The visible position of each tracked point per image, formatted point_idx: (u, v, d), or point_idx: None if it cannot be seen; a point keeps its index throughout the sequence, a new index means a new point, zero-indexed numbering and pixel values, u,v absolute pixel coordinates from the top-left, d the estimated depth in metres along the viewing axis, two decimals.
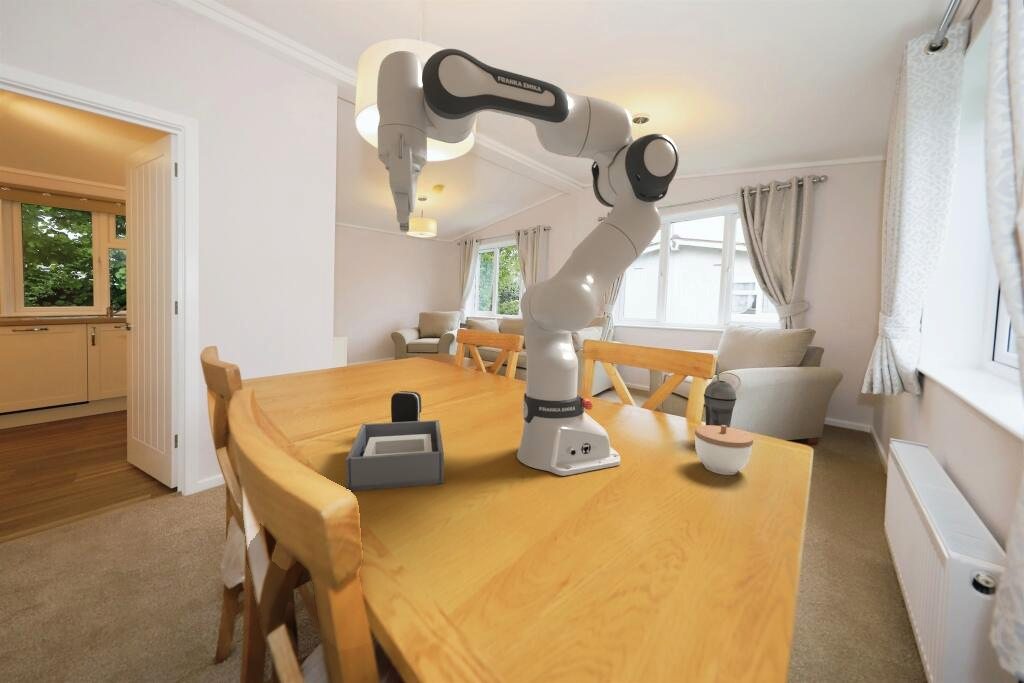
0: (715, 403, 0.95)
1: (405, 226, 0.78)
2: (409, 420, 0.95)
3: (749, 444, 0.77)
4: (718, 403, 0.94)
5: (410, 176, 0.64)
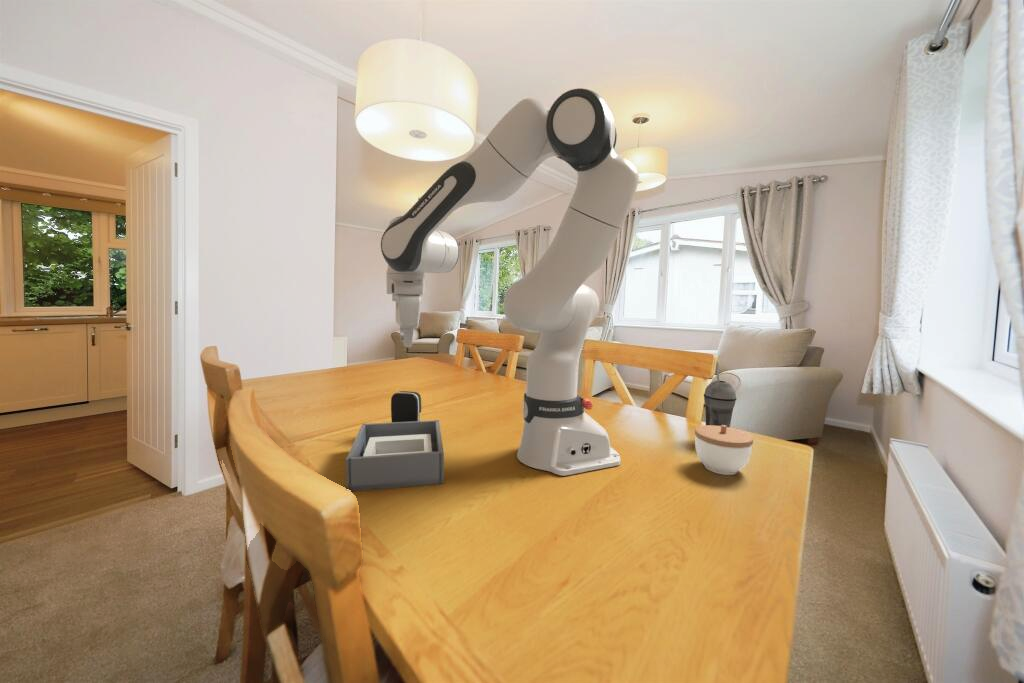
0: (715, 403, 0.95)
1: None
2: (409, 420, 0.95)
3: (749, 444, 0.77)
4: (718, 403, 0.94)
5: None
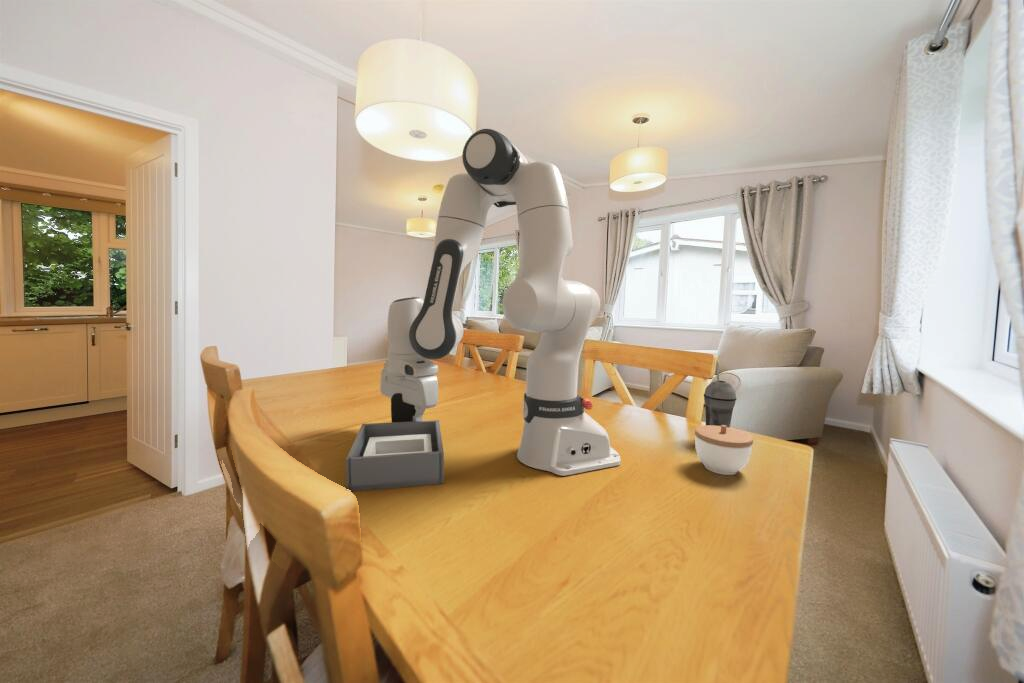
0: (715, 403, 0.95)
1: None
2: (409, 420, 0.95)
3: (749, 444, 0.77)
4: (718, 403, 0.94)
5: (380, 387, 1.02)
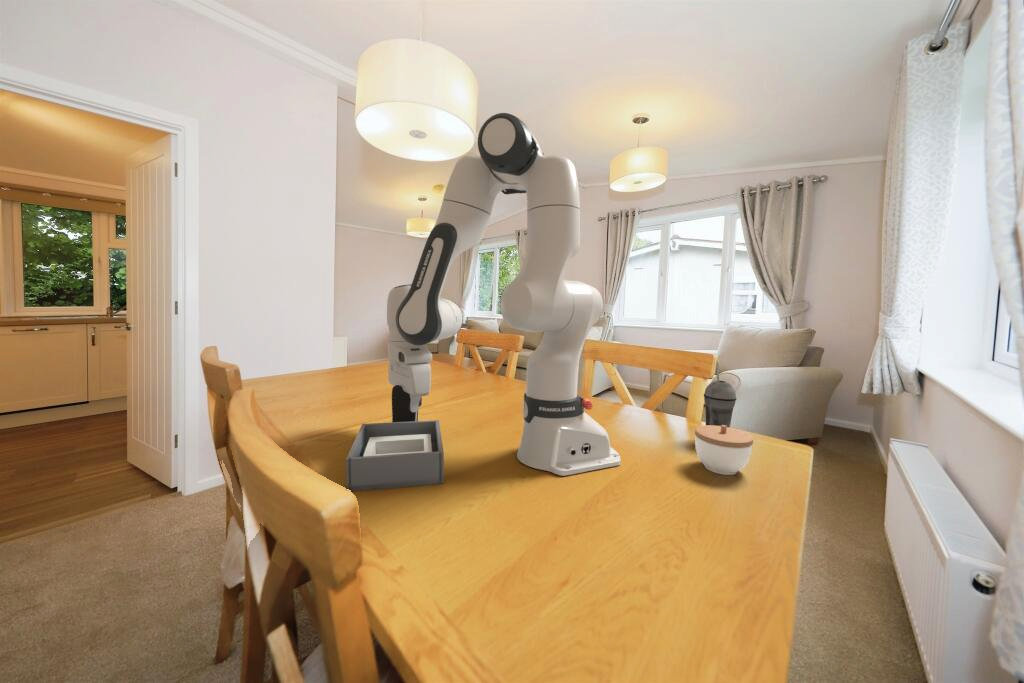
0: (715, 403, 0.95)
1: None
2: (407, 413, 0.95)
3: (749, 444, 0.77)
4: (718, 403, 0.94)
5: None
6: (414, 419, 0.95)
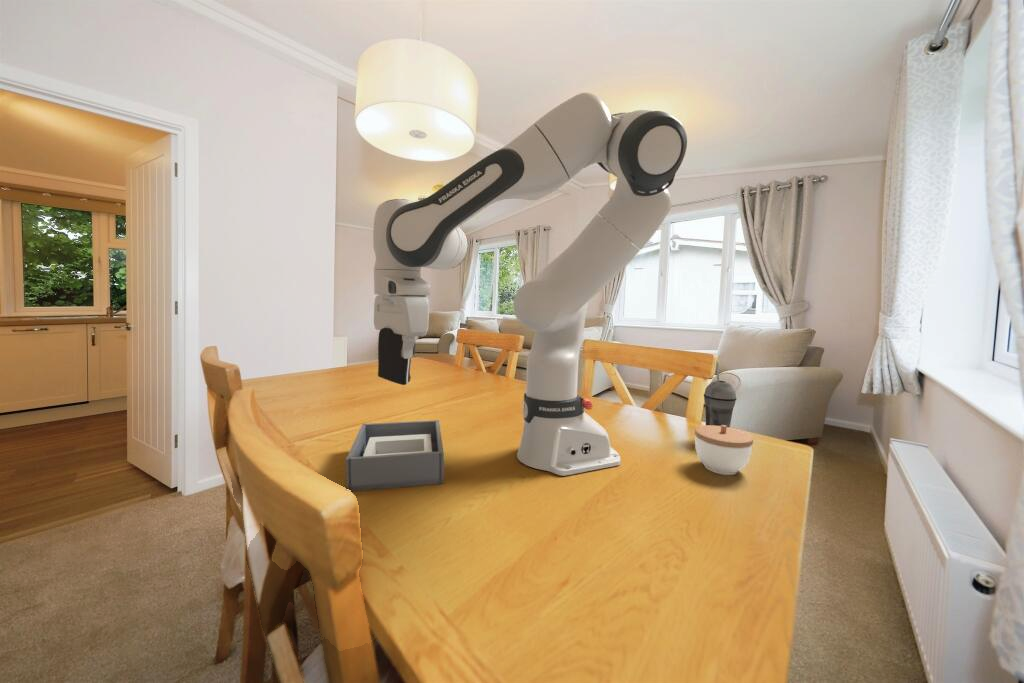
0: (715, 403, 0.95)
1: None
2: (397, 363, 0.77)
3: (749, 444, 0.77)
4: (718, 403, 0.94)
5: (374, 320, 0.85)
6: (406, 370, 0.78)
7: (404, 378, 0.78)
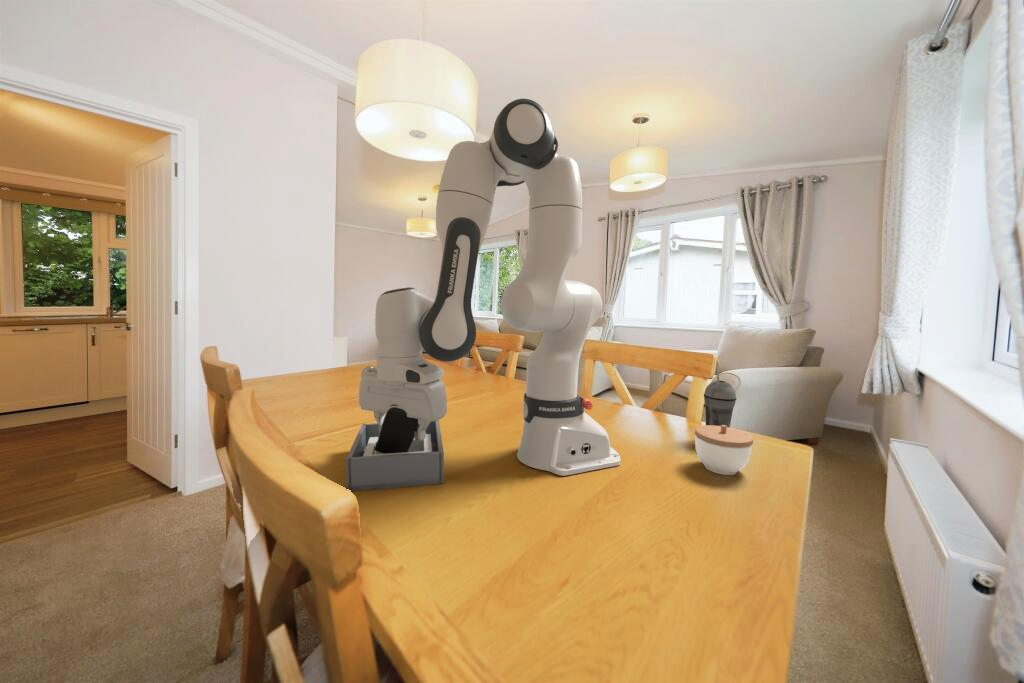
0: (715, 403, 0.95)
1: None
2: (402, 440, 0.79)
3: (749, 444, 0.77)
4: (718, 403, 0.94)
5: None
6: (409, 446, 0.80)
7: None
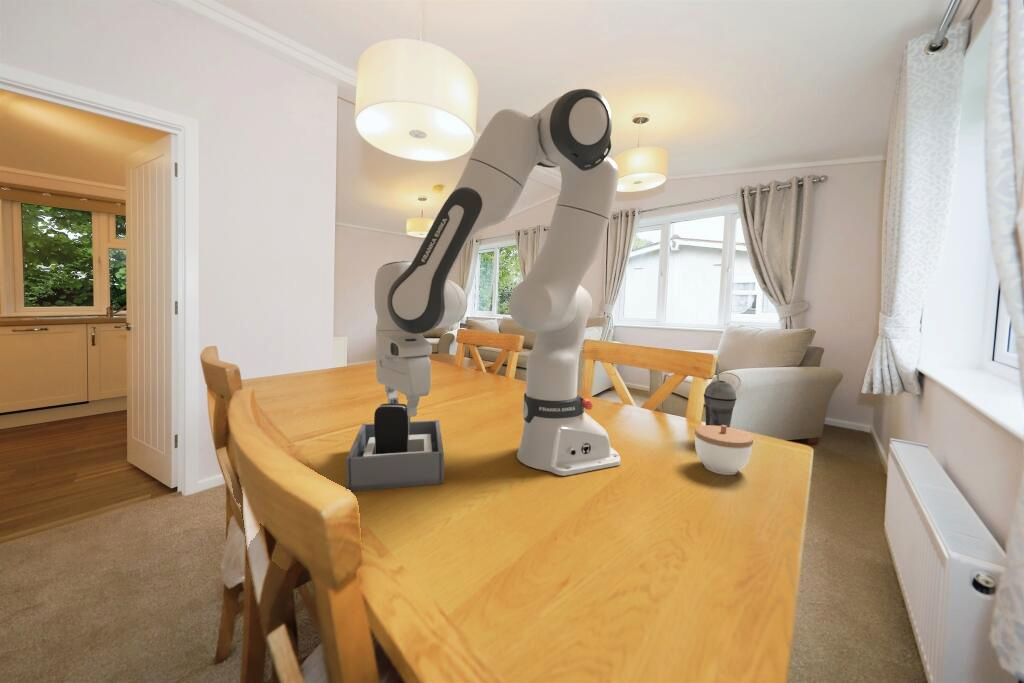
0: (715, 403, 0.95)
1: None
2: (398, 438, 0.80)
3: (749, 444, 0.77)
4: (718, 403, 0.94)
5: None
6: (407, 443, 0.81)
7: (406, 451, 0.81)
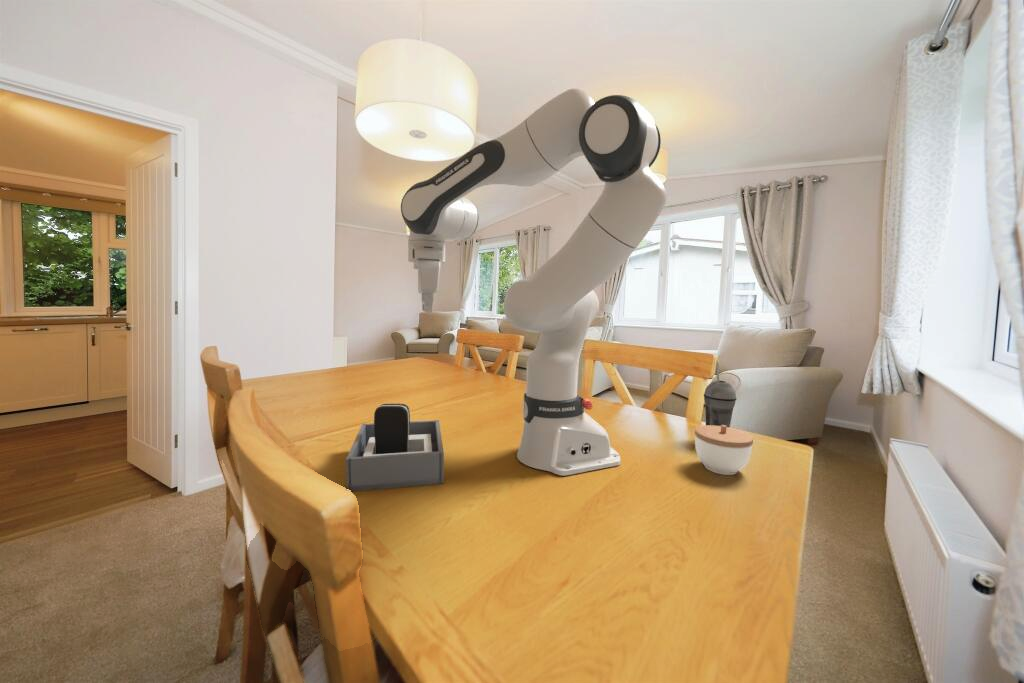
0: (715, 403, 0.95)
1: None
2: (398, 438, 0.80)
3: (749, 444, 0.77)
4: (718, 403, 0.94)
5: None
6: (407, 443, 0.81)
7: (406, 451, 0.81)
